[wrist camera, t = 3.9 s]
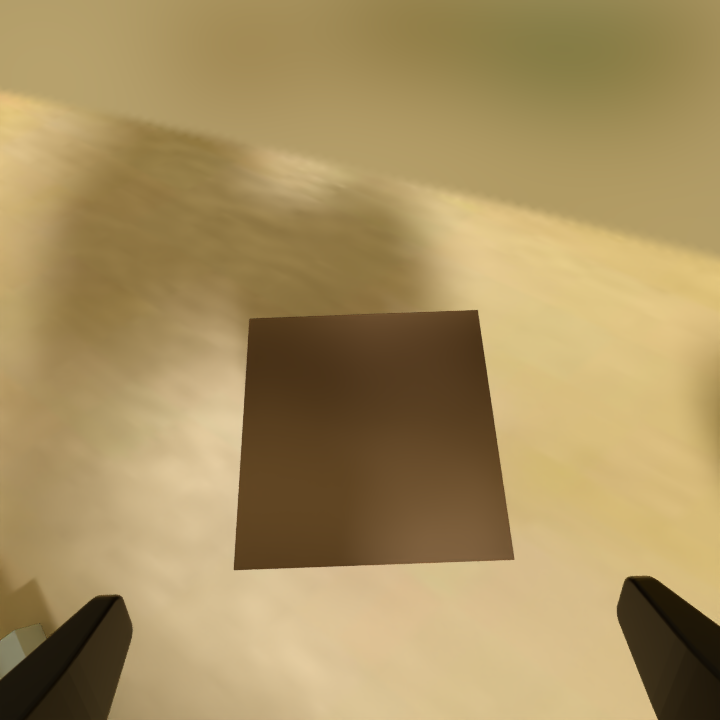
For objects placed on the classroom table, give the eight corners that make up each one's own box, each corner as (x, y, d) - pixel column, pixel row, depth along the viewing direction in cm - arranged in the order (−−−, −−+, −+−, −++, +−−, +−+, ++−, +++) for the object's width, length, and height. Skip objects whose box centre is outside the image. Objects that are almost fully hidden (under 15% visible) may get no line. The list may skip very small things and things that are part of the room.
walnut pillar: (438, 548, 18) (514, 559, 9) (302, 553, 18) (233, 569, 9) (426, 415, 20) (477, 310, 11) (303, 419, 20) (249, 318, 11)
